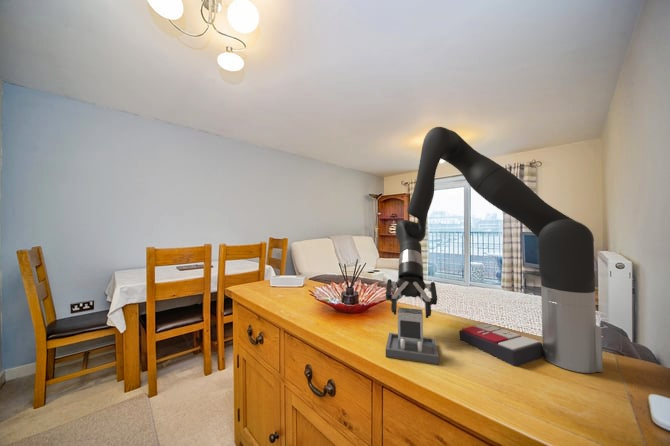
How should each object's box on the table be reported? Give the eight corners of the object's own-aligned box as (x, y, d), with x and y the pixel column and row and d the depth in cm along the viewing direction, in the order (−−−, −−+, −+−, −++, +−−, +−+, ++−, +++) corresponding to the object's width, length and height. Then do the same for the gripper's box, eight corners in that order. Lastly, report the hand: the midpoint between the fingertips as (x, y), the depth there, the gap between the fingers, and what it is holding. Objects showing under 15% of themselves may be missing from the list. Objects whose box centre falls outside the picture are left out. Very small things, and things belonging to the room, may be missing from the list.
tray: (434, 345, 66) (434, 330, 66) (438, 364, 57) (438, 346, 57) (389, 339, 70) (389, 324, 70) (385, 356, 60) (385, 340, 60)
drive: (422, 344, 65) (422, 309, 65) (423, 351, 61) (422, 314, 61) (398, 341, 66) (398, 307, 67) (397, 348, 62) (397, 312, 63)
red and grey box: (484, 321, 74) (542, 340, 60) (485, 336, 74) (544, 358, 60) (458, 327, 70) (514, 348, 56) (459, 343, 70) (515, 368, 56)
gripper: (387, 259, 79) (383, 305, 68) (435, 261, 75) (439, 311, 64) (388, 273, 84) (385, 318, 73) (433, 275, 80) (437, 324, 69)
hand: (410, 315), depth 68 cm, fingers open, 8 cm apart
